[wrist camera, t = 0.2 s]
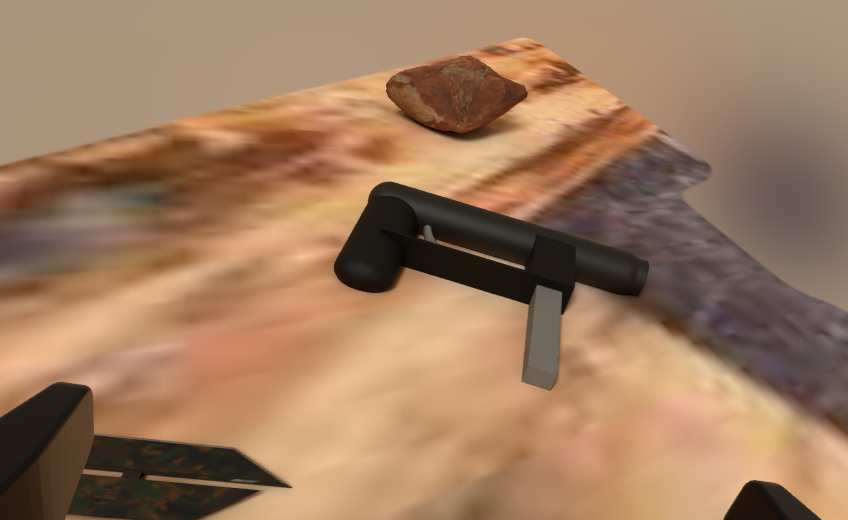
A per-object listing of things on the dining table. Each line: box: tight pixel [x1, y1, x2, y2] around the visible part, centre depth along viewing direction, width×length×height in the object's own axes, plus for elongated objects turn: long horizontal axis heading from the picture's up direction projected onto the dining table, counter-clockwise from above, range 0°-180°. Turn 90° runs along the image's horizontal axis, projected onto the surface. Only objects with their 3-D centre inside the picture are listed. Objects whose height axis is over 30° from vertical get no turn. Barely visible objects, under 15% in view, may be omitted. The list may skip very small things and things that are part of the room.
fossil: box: [386, 56, 528, 134], centre depth 67 cm, size 13×8×10 cm
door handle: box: [334, 182, 649, 390], centre depth 45 cm, size 3×20×16 cm
